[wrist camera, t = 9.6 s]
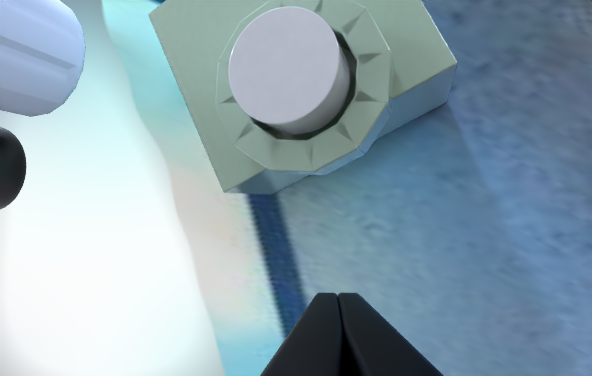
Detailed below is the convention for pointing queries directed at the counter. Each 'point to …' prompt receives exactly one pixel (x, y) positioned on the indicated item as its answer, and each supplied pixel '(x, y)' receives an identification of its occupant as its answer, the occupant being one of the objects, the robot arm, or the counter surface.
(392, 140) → the counter surface
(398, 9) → the push button box
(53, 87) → the soap bottle
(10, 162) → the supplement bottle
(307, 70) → the flush button
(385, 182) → the counter surface
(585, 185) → the counter surface
